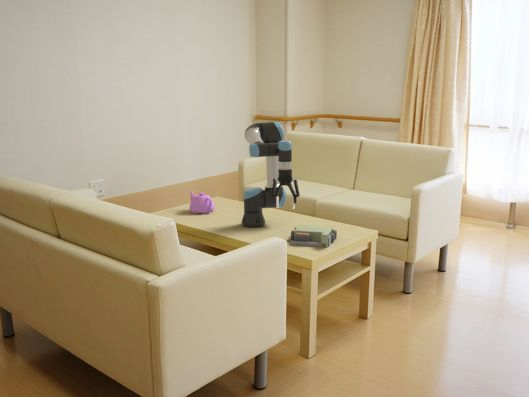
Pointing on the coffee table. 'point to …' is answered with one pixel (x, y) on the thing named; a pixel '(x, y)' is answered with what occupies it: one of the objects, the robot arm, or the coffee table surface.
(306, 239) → the orange striped grey block
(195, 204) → the teapot
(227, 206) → the coffee table surface
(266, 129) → the robot arm
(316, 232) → the green wheeled box
